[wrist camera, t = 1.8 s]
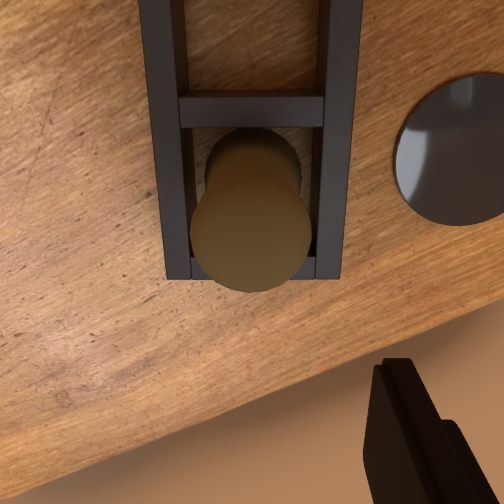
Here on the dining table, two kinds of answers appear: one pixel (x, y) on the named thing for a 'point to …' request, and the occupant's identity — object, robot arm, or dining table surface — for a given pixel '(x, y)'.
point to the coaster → (455, 152)
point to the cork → (251, 213)
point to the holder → (251, 116)
